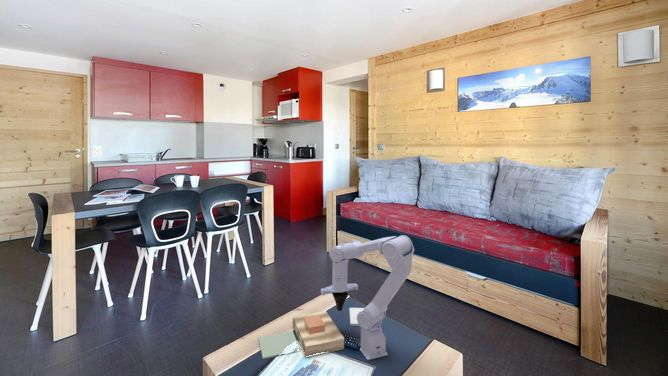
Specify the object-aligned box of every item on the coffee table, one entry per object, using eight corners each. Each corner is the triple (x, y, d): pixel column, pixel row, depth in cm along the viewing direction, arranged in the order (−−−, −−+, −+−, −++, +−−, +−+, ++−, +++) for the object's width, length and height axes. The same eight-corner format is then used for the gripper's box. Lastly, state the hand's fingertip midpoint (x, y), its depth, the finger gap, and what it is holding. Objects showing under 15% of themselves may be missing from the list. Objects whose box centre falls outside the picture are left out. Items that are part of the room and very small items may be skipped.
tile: (325, 331, 114) (325, 324, 114) (309, 334, 112) (309, 327, 112) (319, 321, 121) (319, 315, 121) (304, 324, 119) (304, 317, 119)
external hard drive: (367, 311, 138) (370, 327, 125) (349, 311, 138) (350, 327, 125) (367, 308, 137) (370, 323, 125) (349, 307, 138) (350, 323, 125)
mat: (300, 351, 109) (300, 349, 109) (262, 359, 105) (262, 357, 105) (292, 332, 120) (292, 330, 120) (258, 339, 116) (258, 337, 116)
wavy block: (344, 348, 111) (344, 338, 110) (306, 357, 106) (306, 346, 105) (325, 319, 129) (325, 310, 129) (292, 326, 124) (292, 316, 124)
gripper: (353, 269, 124) (352, 301, 126) (318, 274, 119) (318, 307, 121) (360, 276, 117) (359, 310, 119) (324, 281, 112) (324, 317, 114)
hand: (339, 309), depth 120 cm, fingers closed
